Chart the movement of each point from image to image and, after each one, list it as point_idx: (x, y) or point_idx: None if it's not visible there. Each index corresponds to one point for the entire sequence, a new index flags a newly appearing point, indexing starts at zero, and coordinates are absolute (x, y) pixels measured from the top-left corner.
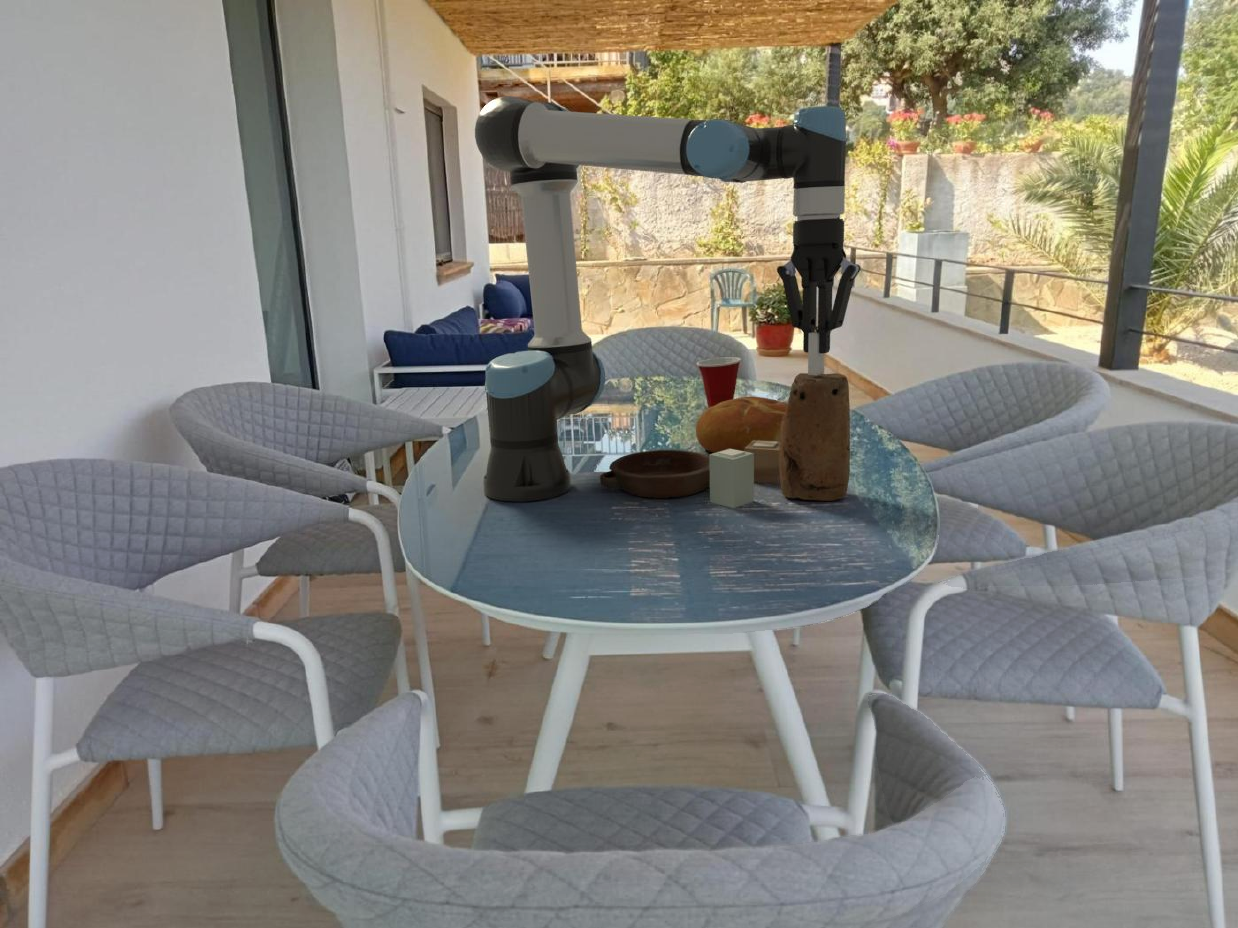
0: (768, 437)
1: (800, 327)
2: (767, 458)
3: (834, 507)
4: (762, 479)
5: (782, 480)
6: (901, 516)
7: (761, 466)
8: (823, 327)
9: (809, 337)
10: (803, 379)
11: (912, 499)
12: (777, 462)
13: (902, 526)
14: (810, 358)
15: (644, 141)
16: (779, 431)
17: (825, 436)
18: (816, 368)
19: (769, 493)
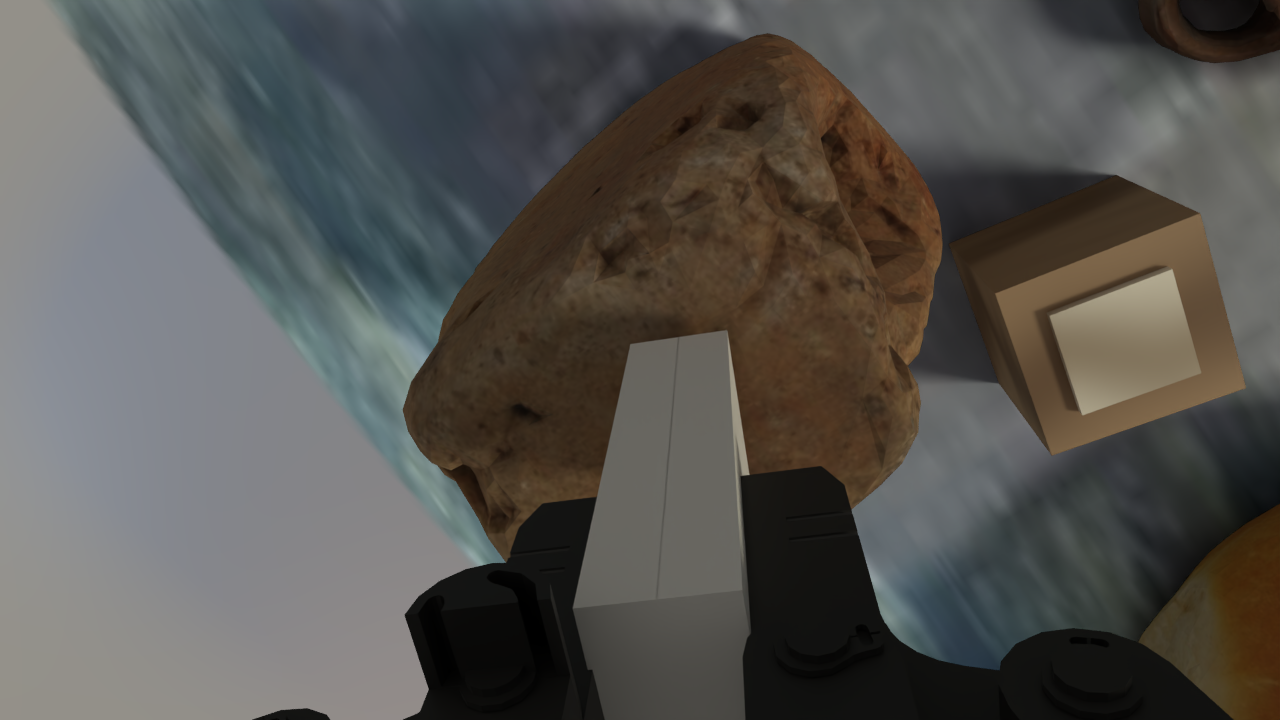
0: (1246, 573)
1: (971, 689)
2: (1041, 255)
3: (542, 100)
4: (1029, 216)
5: (797, 45)
6: (280, 175)
7: (1058, 230)
8: (450, 707)
9: (721, 546)
10: (706, 213)
11: (385, 389)
12: (982, 271)
13: (198, 65)
14: (700, 403)
15: None
16: (1222, 646)
17: (566, 179)
18: (630, 370)
19: (896, 84)
